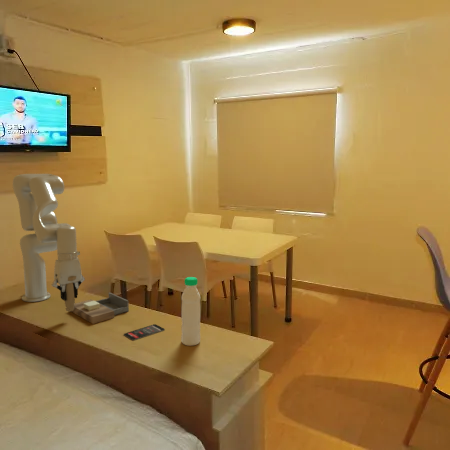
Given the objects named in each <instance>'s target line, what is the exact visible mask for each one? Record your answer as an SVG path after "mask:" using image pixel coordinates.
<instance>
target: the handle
mask: <svg viewBox="0 0 450 450" xmlns="http://www.w3.org/2000/svg"><path fill="white" fill-rule="evenodd" d="M76 278H77V277H76V276H73V277H68V281H74V280H75V279H76ZM65 291H66V298H67V300H66V301H64V306H65V310H66V312H71V311H73V310H74V305H75V302H76V301H75V300H76V298H75V296H74V287H73V283H69V284H66V285H65Z"/></svg>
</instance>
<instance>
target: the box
mask: <svg viewBox="0 0 450 450" xmlns="http://www.w3.org/2000/svg"><path fill="white" fill-rule="evenodd" d="M95 301H96V302H98V303H100V304H101V305H103V306H105V307H107V308H109V309H111V310H113V311H114V317H115V316H117V315H121V314H124V313H128V312H129V300H128V299H126V298H123V297H121V296H118V295H116V294H115V293H112V292H108V297H106V298H102V299H99V300H95Z"/></svg>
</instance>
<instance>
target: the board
mask: <svg viewBox="0 0 450 450" xmlns="http://www.w3.org/2000/svg"><path fill="white" fill-rule="evenodd" d="M91 301H94V300H93V299H87V300H83V301H80V302H76V303H75V305H74V310H73V311H70V312H71V313H73V314H75V315H77V316H78V317H80V318H81V319H84V320H85V321H86V322H88V323H91V324H92V325H94V324H96V323H97V324H98V323H101V322H105V321H107V320H110V319H115V316H114V311H113V310H111V309H109V308H107V307H105V306H103V305H101V304H100V308H98V309H94V310H90V311H89V310H87V309H85V308H84V303H87V302H91Z"/></svg>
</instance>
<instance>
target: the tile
mask: <svg viewBox="0 0 450 450" xmlns="http://www.w3.org/2000/svg"><path fill="white" fill-rule="evenodd" d="M96 301H97V300H93V301H91V302H87V303H84V308H85V309H87V310H89V311H90V310H94V309H98V308H100V303H98V302H96Z"/></svg>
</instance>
